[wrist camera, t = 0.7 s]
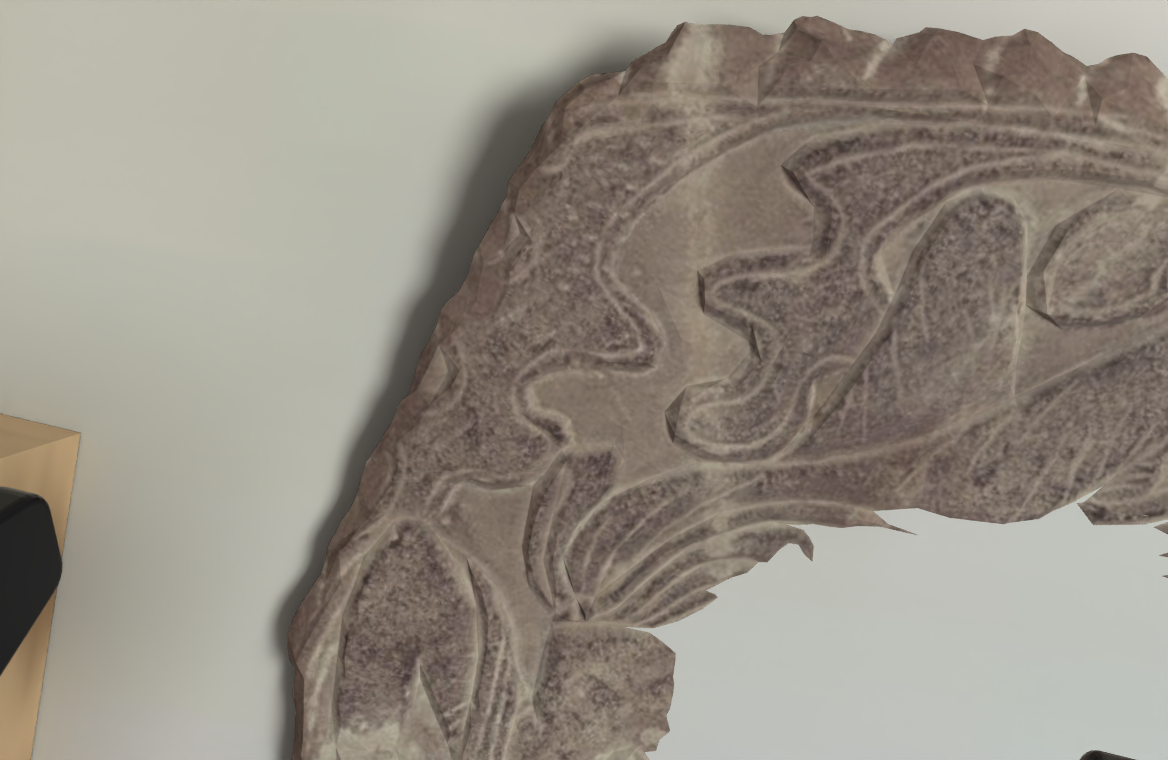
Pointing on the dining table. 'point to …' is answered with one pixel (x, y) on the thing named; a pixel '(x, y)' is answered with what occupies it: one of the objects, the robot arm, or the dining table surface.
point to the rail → (47, 467)
